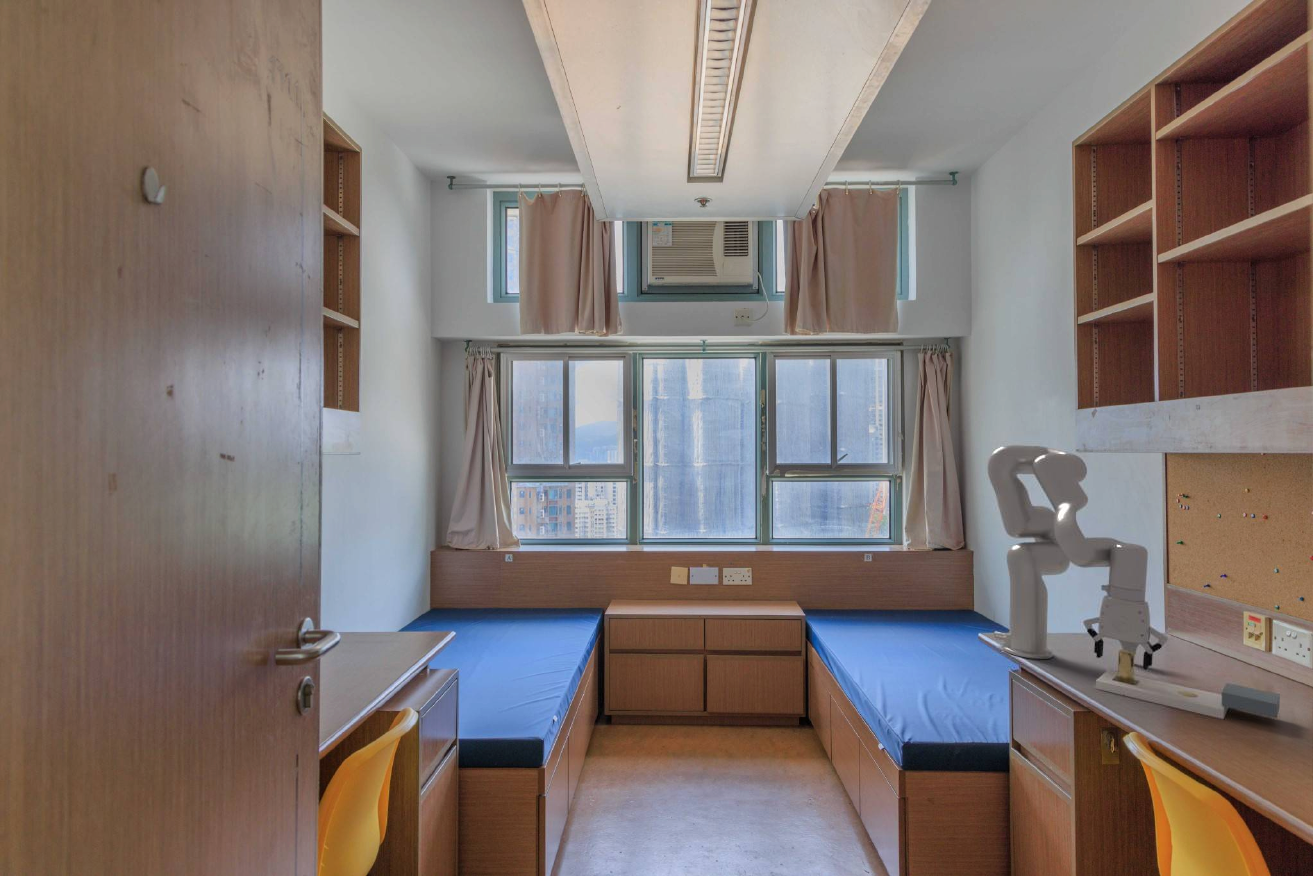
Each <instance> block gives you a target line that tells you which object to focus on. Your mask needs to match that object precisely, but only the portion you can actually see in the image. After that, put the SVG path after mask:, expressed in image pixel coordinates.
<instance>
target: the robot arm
mask: <svg viewBox="0 0 1313 876" xmlns="http://www.w3.org/2000/svg"><path fill="white" fill-rule="evenodd" d="M1087 473H1088V468H1087V465H1086V463H1085V461H1084V460H1083V459H1082V458H1081V457H1080V456H1078V455H1076V454H1074V453H1070V452H1066V451H1063V450H1062V451H1061V450H1059V449H1055V448H1051V447H1046V446H1042V445H1041V446H1040V445H1023V444H1022V445H1021V444H1019V445H1015V444H1013V445H1004V446H1001V447H998V448H996V449H994V450H993V452H992V453H991V455H990V456H989V459H988V462H987V474H988V478H989V481H990V484H991V486H992V489H993V491H994V494H995V497H996V501H997V506H998V508H999V513H1000V516H1001V521H1002V524H1003V528H1004V530H1005V532H1006V534H1007V535H1008V536H1009V537H1011V538H1015V539H1033V540H1034V541H1029V542H1025V541H1024V542H1020V543H1019V542H1018V543H1017V544H1014V545H1013V546H1011V547H1010V548H1009V549H1008V552H1007V554H1006V564H1007V569H1008V576H1009V631H1008V632H1006V633H1004V632H1000V631H994V634H993V637H994V639H995V640H997V641H1003V642H1004V643H1003V644H1002V650H1004V651H1005V652H1007V653H1008V654H1011V655H1014V656H1017V657H1021V658H1027V659H1037V660H1038V659H1039V660H1044V659H1045V660H1047V659H1048V660H1049V659H1050V658H1053V655H1054V652H1053V651H1052V650H1051V649H1050V648H1048V609H1049V608H1048V607H1049V606H1048V601H1049V600H1048V597H1049V595H1048V594H1049V593H1048V589H1047V586H1046V583H1045V581H1044V579H1043V577H1042V576H1056V575H1061V574H1063V573H1065V572H1067V570H1068V569H1069V567H1070V563H1072V564H1073V565H1074V566H1076V567H1080V568H1109V573H1108V575H1109V576H1108V584H1102V585H1101V586H1100V587H1101V591H1103V592H1106V594H1105V595H1103V598H1102V601H1101V606H1100V612H1099V616H1097V617H1092V618H1088V619H1085V620H1083V626H1084V627H1085V629H1086V633H1088V634H1089V636H1090V638H1092V640H1093V641H1094V647H1093V648H1094V651H1093V652H1094V653H1095V654H1096V658H1097V659H1100V658H1102V657H1103V656H1104V640H1103V638H1104V637H1105V638H1108V639H1112V640H1116V641H1119V640H1120V641H1125V642H1129V643H1134V644H1139V645H1140V646H1141V647H1143V649H1144V650H1145V651H1144V652H1143V660H1142V669H1143V670H1148V668H1149V667H1152V665H1153V658H1154V657H1153V655H1154V653H1155V652H1157V651H1159V650H1160V649H1161V648H1162V647H1163V646H1164V645H1165V644H1166V642H1167V641H1169V638H1168V636H1166V635H1165V634H1163V633H1161V632H1160V631H1159V630H1156V629H1155V628H1154V627H1152V626H1151V615H1150V606H1149V602H1147V601H1146V587H1147V575H1148V574H1147V573H1148V557H1149V555H1148V554H1149V552H1148V550H1147V548H1146V547H1145V546H1143V545H1140V544H1135V543H1127V542H1124V541H1121V540H1118V539H1115V538H1112V537H1103V536H1102V537H1085V535H1084V533H1083V532H1082V530H1081V529H1080V527H1079V524H1078V521H1077V513H1078V512H1079V511H1080V510H1082V509H1084V507H1086V506H1087V504H1088V502H1089V497H1088V495H1087V493H1086V492H1085V491H1084V489H1083V488H1082V486H1081V484H1080V483H1081V482H1082V481H1084V479H1085V478H1086V476H1087ZM1018 475H1034V476H1035V479H1036V480H1037V482H1038V483H1039V485H1040V487H1041V489H1042V491H1043V492H1044V494H1045V495H1046V497H1047V499H1048V500H1049V502H1050V504H1051V506H1052V508H1053V509H1051V508H1049V507H1047V506H1043V505H1033V504H1032V501H1031V499H1030V496H1029V491H1028V489H1027V488H1026V486H1025V484H1024V482H1022V480H1020V479H1019V478H1018ZM1053 510H1054V511H1053ZM1095 624H1098V628H1097V631H1096V630H1095V629H1094V628H1093V625H1095ZM1151 636H1153V637H1155V638H1156V639H1157V640H1158V641H1157V642H1156V643H1154V644H1152V643H1151V642H1150V639H1151Z"/></svg>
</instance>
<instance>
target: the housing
mask: <svg viewBox="0 0 1313 876" xmlns="http://www.w3.org/2000/svg"><path fill="white" fill-rule="evenodd" d="M1221 695H1222V706H1225V707H1229V708H1228V709H1234V710H1239V711H1243V712H1246V713H1251V714H1256V715H1261V716H1265V717H1269V718H1273V719H1277V718H1278V715H1279V711H1280V703H1281V702H1280V700H1281V699H1280V698H1281V697H1280V693H1276V692H1272V691H1268V690H1267V691H1266V690H1262V689H1258V688H1252V687H1247V686H1243V685H1238V684H1234V683H1229V682H1226V684H1225V685H1224V688H1223V689H1222V691H1221Z"/></svg>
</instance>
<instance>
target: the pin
mask: <svg viewBox="0 0 1313 876" xmlns="http://www.w3.org/2000/svg"><path fill="white" fill-rule="evenodd" d="M1117 655H1118V656H1117V657H1118V660H1117V661H1118V663H1117V666H1118V667H1117V672H1118V682H1122V683H1127V684H1131V685H1134V676H1135V659H1134V653H1133V652H1131V651H1126V650H1122V649H1119V650H1118V654H1117Z"/></svg>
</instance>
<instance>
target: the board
mask: <svg viewBox="0 0 1313 876" xmlns="http://www.w3.org/2000/svg"><path fill="white" fill-rule="evenodd" d="M1095 689H1096V690H1100V691H1105V692H1108V693H1113V694H1116V695H1117V694H1118V695H1120V696H1124V695H1125V696H1126V697H1129V698H1134V699H1138V700H1142V701H1146V702H1150V703H1153V704H1157V705H1162V706H1167V707H1172V708H1176V709H1180V710H1184V711H1188V712H1193V713H1196V714H1201V715H1204V716H1209V717H1213V718H1217V719H1221V720H1224V718H1225V716H1226V715H1227V712H1228V710H1229V709H1230V708H1229V707H1225V706H1222V694H1220V693H1215V692H1210V691H1206V690H1201V689H1197V688H1191V687H1188V686H1183V685H1178V684H1174V683H1169V682H1164V681H1161V680H1155V679H1151V678H1145V677H1143V676H1138V675H1134V685H1131V684H1127V683H1122V682H1118V671H1114V670H1109V669H1107V670H1106V671H1105V672H1104V673H1103V674H1101V676H1099V677H1098V678H1097V679H1096V681H1095ZM1125 696H1124V697H1125Z"/></svg>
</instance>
